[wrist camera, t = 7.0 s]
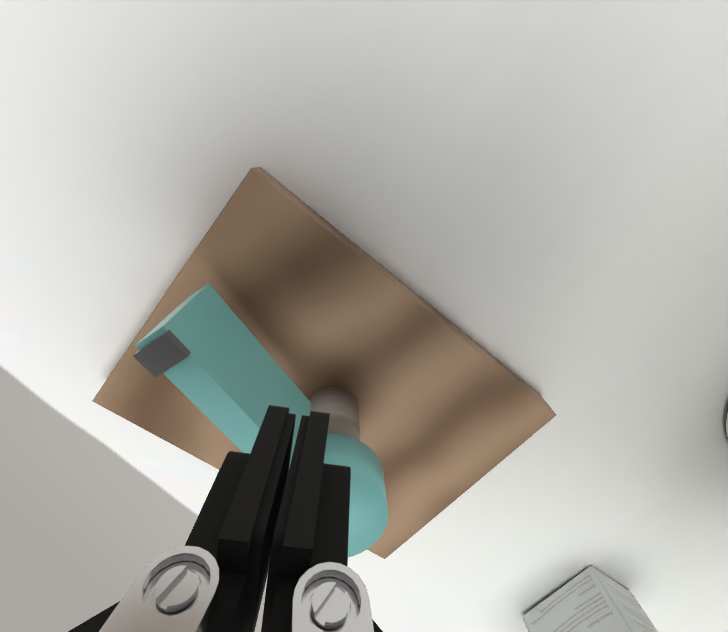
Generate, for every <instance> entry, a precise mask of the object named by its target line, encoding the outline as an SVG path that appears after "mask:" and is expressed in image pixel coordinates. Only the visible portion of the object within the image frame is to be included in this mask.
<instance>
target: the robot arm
mask: <svg viewBox="0 0 728 632" xmlns="http://www.w3.org/2000/svg"><path fill="white" fill-rule="evenodd" d="M329 417H330V413H323V412H316V411H311V412H310V416H305V415H302V417H301V421H300V425H299V430H298V434H297V438H296V442H295V447H294V451H293V455H292V459H291V463H290V458H291V450H292V442H293V435H294V427H295V419H296V414H291V413H289V408H288V407H280V406H273V405H269V406H268V409H267V411H266V414H265V416H264V419H263V422H262V424H261V427H260V430H259V432H258V435H257V438H256V440H255V443H254V445H253V448H252V451H251V453H242V452H234V451H229V452H228V453H227V455H226V457H225V459H224V461H223V464H222V466H221V468H220V470H219V472H218V474H217V477H216V479H215V481H214V483H213V485H212V488H211V490H210V492H209V494H208V496H207V498H206V501H205V503H204V505H203V507H202V509H201V511H200V514H199V516H198V518H197V520H196V523H195V525H194V527H193V529H192V531H191V533H190V535H189V538H188V540H187V542H186V544H185V546H183V547H177V548H173V549H171V550H168V551H166V552H164V553H162V554H160V555H159V556H157V557H156V558H154V559H153V560H152V561H150V562H149V564H148V565H147V566H146V567H145V568H144V569H143V570H142V571H141V573H140V574H139V576H138V577H137V578H136V580H135V581H134V583H133V584H132V585H131V587H130V588H129V590H128V591H127V592H126V594H125V595H124V597H123V598H122V599H121V601H119V602H118V603H116V604H114V605H113V606H111V607H109V608H108V609H106V610H104V611H102V612H101V613H99V614H97V615H96V616H94V617H92V618H91V619H89V620H87V621H86V622H84V623H82V624H80V625H79V626H77V627H75V628H74V629H72V630H70V631H69V632H254V631H255V627H256V622H257V618H258V613H259V609H260V605H261V600H262V595H263V592H264V587H265V583H266V578H267V574H268V579H267V588H266V595H265V604H264V613H263V622H262V629H261V632H383V631H382V630H381V629H380V628H379V627H378V625H377V624H376V623H375V622H374V621H373V619H372V614H371V608H370V601H369V596H368V593H367V589H366V586H365V584H364V583H363V581H362V580H361V578H360V577H359V575H358V574H357V573H355V572H354V571H353V570H352V569H351V568H349V567H347V561H348V534H349V508H350V481H351V467H348V466H340V465H333V464H325V463H324V456H325V449H326V441H327V433H328V425H329ZM726 430H727V437H728V414H727V419H726ZM289 466H290V468H289Z"/></svg>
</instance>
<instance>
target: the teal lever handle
mask: <svg viewBox="0 0 728 632" xmlns="http://www.w3.org/2000/svg"><path fill="white" fill-rule="evenodd" d="M135 346H136V347H137V348H138V349H139V351H137V352H136V353H135V354H134V355H133V357H134V358H135V359H136V360H137V361H138V362H139V363H140V364H141V365H142V366H143V367H144V368H146V369H147V370H148V371H149V372H150V373H151V374H152V375H153V376H154V377H155V378H156V377H158V376H159V375H161V374H162V373H163V374H164V375H165V376H166V377H167V378H168V379H169V380H170V381H171V382H172V383H173V384H174V385H175V386H176V387H177V388H178V389H179V390H180V391H181V392H182V393H183V394H184V395H185V396H186V397H187V398H188V399H189V400H190V401H191V402H192V403H193V404H194V405H195V406H196V407H197V408H198V409H199V410H200V411H201V412H202V413H203V414H204V415H206V416H207V417H208V418H209V419H210V420H211V421H212V422H213V423H214V424H215V425H216V426H217V427H218V428H219V429H220V430H221V431H222V432H223V433H224V434H225V435H226V436H227V437H228V438H229V439H230V440H231V441H232V442H233V443H234V444H235V445H236V446H237V447H238V448H239V449H240V450H241V451H242V452H243V453H251V451H252V448H253V445H254V443H255V440H256V438H257V435H258V432H259V430H260V427H261V424H262V422H263V419H264V416H265V414H266V411H267V409H268V406H269V405H273V406H280V407H288V408H289V413H291V414H296V419H295V427H294V435H293V442H292V450H291V458H290V463H291V459H292V455H293V451H294V447H295V442H296V438H297V434H298V430H299V425H300V421H301V417H302V415H305V416H309V415H310V408H311V402H310V401H309V400H308V399H307V398H306V396H305V395H304V394H303V393H302V392H301V391H300V389H299V388H298V387H297V386H296V385H295V384H294V382H293V381H292V380H291V379H290V378H289V376H288V375H287V374H286V373H285V372H284V371H283V369H282V368H281V367H280V366H279V365H278V364H277V362H276V361H275V360H274V359H273V358H272V357H271V355H270V354H269V353H268V352H267V351H266V350H265V348H264V347H263V346H262V345H261V344H260V343H259V341H258V340H257V339H256V338H255V337H254V335H253V334H252V333H251V332H250V331H249V330H248V328H247V327H246V326H245V325H244V324H243V323H242V321H241V320H240V319H239V318H238V317H237V316H236V314H235V313H234V312H233V311H232V310H231V309H230V307H229V306H228V305H227V304H226V303H225V302H224V300H223V299H222V298H221V297H220V296H219V295H218V293H217V292H216V291H215V290H214V289H213V287H212V286H211V285H210V284H209V283H208V284H207V285H205V286H204V287H203V288H201V289H200V290H198V291H197V292H195V293H194V294H192V295H191V296H189V297H188V298H187V299H186V300H185V301H183V302H182V303H181V304H180V305H179V306H178V307H177V308H176V309H175V310H173V311H172V312H171V313H170V314H169V315H168V316H167V317H166V318H165V319H163V320H162V321H161V322H160V323H159V324H158V325H157V326H156V327H155V328H154V329H152V330H151V331H150V332H149V333H148V334H147V335H146V336H145V337H144V338H142V339H141V340H140V341H139V342H138V343H137V344H136V345H135ZM324 463H325V464H333V465H340V466H348V467H351V481H350V508H349V534H348V557H351V556H354V555H356V554H359V553H361V552H363V551H365V550H366V549H368V548H369V547H371V546H372V545H373V544H374V543H376V542H377V541H378V539H379V538H380V537H381V536H382V534H383V532H384V531H385V528H386V526H387V522H388V508H387V499H386V491H385V482H384V473H383V467H382V464H381V461H380V459H379V458H378V456H377V455H376V453H375V452H374V451H373V450H372V449H371V448H370V447H368V446H367V445H366V444H364V443H363V442H361V441H359V440H357V439H355V438H352V437H349V436H344V435H339V434H327V441H326V449H325V456H324ZM289 468H290V466H289Z"/></svg>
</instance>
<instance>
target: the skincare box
mask: <svg viewBox="0 0 728 632" xmlns="http://www.w3.org/2000/svg"><path fill="white" fill-rule="evenodd" d="M523 619H524V622H525V624H526V627H527V629H528V632H658V631H657V630H656V628H655V627H654V625H653V624H652V622H651V621H650V619H649V618H648V616H647V615H646V613H645V612H644V610H643V609H642V607H641V606H640V604H639V603H638V601H637V600H636V598H635V597H634V595H633V594H632V593H631V592H630V591H628V590H627V589H626V588H624V587H623V586H621V585H620V584H618V583H617V582H615V581H614V580H612V579H611V578H609V577H608V576H606V575H605V574H603V573H602V572H600V571H599V570H597V569H596V568H594V567H593V566H589V567H588V568H587V569H585V570H584V571H583V572H581V573H580V574H579V575H577V576H576V577H575V578H573V579H572V580H571V581H569V582H568V583H567V584H565V585H564V586H563V587H561V588H560V589H559V590H557V591H556V592H555V593H553V594H552V595H551V596H549V597H548V598H547V599H545V600H544V601H542V602H541V603H540V604H538V605H537V606H536V607H534V608H533V609H531V610H530V611H529V612H528V613H526V614H525V615H523Z"/></svg>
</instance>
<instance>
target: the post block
mask: <svg viewBox="0 0 728 632" xmlns="http://www.w3.org/2000/svg"><path fill="white" fill-rule="evenodd" d="M208 283H209V284H210V285H211V286H212V287H213V289H214V290H215V291H216V292H217V293H218V295H219V296H220V297H221V298H222V299H223V300H224V302H225V303H226V304H227V305H228V306H229V307H230V309H231V310H232V311H233V312H234V313H235V314H236V316H237V317H238V318H239V319H240V320H241V321H242V323H243V324H244V325H245V326H246V327H247V328H248V330H249V331H250V332H251V333H252V334H253V335H254V337H255V338H256V339H257V340H258V341H259V343H260V344H261V345H262V346H263V347H264V348H265V350H266V351H267V352H268V353H269V354H270V355H271V357H272V358H273V359H274V360H275V361H276V362H277V364H278V365H279V366H280V367H281V368H282V369H283V371H284V372H285V373H286V374H287V375H288V376H289V378H290V379H291V380H292V381H293V382H294V384H295V385H296V386H297V387H298V388H299V389H300V391H301V392H302V393H303V394H304V395H305V396H306V398H307V399H308V400H309V401H310V402H311V408H310V412H311V411H316V412H323V413H330V417H329V425H328V433H327V434H339V435H344V436H349V437H352V438H355V439H357V440H359V441H361V442H363V443H364V444H366V445H367V446H368V447H370V448H371V449H372V450H373V451H374V452H375V453H376V455H377V456H378V458H379V459H380V461H381V464H382V467H383V473H384V482H385V491H386V499H387V508H388V522H387V526H386V528H385V531H384V532H383V534H382V536H381V537H380V538H379V539H378V541H377V542H376V543H374V544H373V545H372V546H371V547H369V548H368V549H367V550H369V551H371V552H373V553H375V554H377V555H378V556H380V557H382V558H384V559H385V558H387V557H388V556H389V555H390V554H391V553H393V552H394V551H395V550H396V549H397V548H399V547H400V546H401V545H402V544H403V543H405V542H406V541H407V540H408V539H409V538H410V537H412V536H413V535H414V534H415V533H416V532H418V531H419V530H420V529H421V528H422V527H424V526H425V525H426V524H427V523H428V522H430V521H431V520H432V519H433V518H434V517H435V516H437V515H438V514H439V513H440V512H441V511H443V510H444V509H445V508H446V507H447V506H449V505H450V504H451V503H452V502H453V501H455V500H456V499H457V498H458V497H459V496H460V495H462V494H463V493H464V492H465V491H466V490H468V489H469V488H470V487H471V486H472V485H474V484H475V483H476V482H477V481H478V480H480V479H481V478H482V477H483V476H484V475H486V474H487V473H488V472H489V471H490V470H491V469H493V468H494V467H495V466H496V465H497V464H499V463H500V462H501V461H502V460H503V459H505V458H506V457H507V456H508V455H509V454H511V453H512V452H513V451H514V450H515V449H516V448H518V447H519V446H520V445H521V444H522V443H524V442H525V441H526V440H527V439H528V438H530V437H531V436H532V435H533V434H534V433H536V432H537V431H538V430H539V429H540V428H541V427H543V426H544V425H545V424H546V423H547V422H549V421H550V420H551V419H552V418H553V417H555V416H556V414H555V413H554V411H553V410H552V409H551V408H550V406H549V405H548V404H547V403H546V401H545V400H544V399H543V398H542V396H540V395H539V394H538V393H537V392H536V391H534V390H533V389H532V388H531V387H529V386H528V385H527V384H526V383H525V382H523V381H522V380H521V379H520V378H518V377H517V376H516V375H515V374H513V373H512V372H511V371H510V370H509V369H507V368H506V367H505V366H504V365H502V364H501V363H500V362H499V361H497V360H496V359H495V358H494V357H493V356H491V355H490V354H489V353H488V352H486V351H485V350H484V349H483V348H482V347H480V346H479V345H478V344H477V343H475V342H474V341H473V340H472V339H470V338H469V337H468V336H467V335H466V334H464V333H463V332H462V331H461V330H459V329H458V328H457V327H456V326H455V325H453V324H452V323H451V322H450V321H448V320H447V319H446V318H445V317H443V316H442V315H441V314H440V313H439V312H437V311H436V310H435V309H434V308H432V307H431V306H430V305H429V304H427V303H426V302H425V301H424V300H423V299H421V298H420V297H419V296H418V295H416V294H415V293H414V292H413V291H412V290H410V289H409V288H408V287H407V286H405V285H404V284H403V283H402V282H400V281H399V280H398V279H397V278H396V277H394V276H393V275H392V274H391V273H389V272H388V271H387V270H386V269H384V268H383V267H382V266H381V265H380V264H378V263H377V262H376V261H375V260H373V259H372V258H371V257H370V256H369V255H367V254H366V253H365V252H364V251H362V250H361V249H360V248H359V247H357V246H356V245H355V244H354V243H353V242H351V241H350V240H349V239H348V238H346V237H345V236H344V235H343V234H342V233H340V232H339V231H338V230H337V229H335V228H334V227H333V226H332V225H330V224H329V223H328V222H327V221H326V220H324V219H323V218H322V217H321V216H319V215H318V214H317V213H316V212H314V211H313V210H312V209H311V208H310V207H308V206H307V205H306V204H305V203H303V202H302V201H301V200H300V199H299V198H297V197H296V196H295V195H294V194H292V193H291V192H290V191H289V190H287V189H286V188H285V187H284V186H283V185H281V184H280V183H279V182H278V181H276V180H275V179H274V178H273V177H272V176H270V175H269V174H268V173H267V172H265V171H264V170H263V169H262V168H260V167H258V168H251V169H250V171H249V172H248V174H247V175H246V177H245V178H244V180H243V181H242V183H241V184H240V185H239V187H238V188H237V190H236V191H235V193H234V194H233V196H232V197H231V199H230V200H229V202H228V203H227V204H226V206H225V207H224V209H223V210H222V212H221V213H220V215H219V216H218V218H217V219H216V221H215V222H214V224H213V225H212V226H211V228H210V229H209V231H208V232H207V234H206V235H205V237H204V238H203V240H202V241H201V243H200V244H199V245H198V247H197V248H196V250H195V251H194V253H193V254H192V256H191V257H190V259H189V260H188V262H187V263H186V265H185V266H184V267H183V269H182V270H181V272H180V273H179V275H178V276H177V278H176V279H175V281H174V282H173V284H172V285H171V286H170V288H169V289H168V291H167V292H166V294H165V295H164V297H163V298H162V300H161V301H160V303H159V304H158V306H157V307H156V308H155V310H154V311H153V313H152V314H151V316H150V317H149V319H148V320H147V322H146V323H145V325H144V326H143V327H142V329H141V330H140V332H139V333H138V335H137V336H136V338H135V339H134V341H133V342H132V344H131V345H130V347H129V348H128V349H127V351H126V352H125V354H124V355H123V357H122V358H121V360H120V361H119V363H118V364H117V366H116V367H115V368H114V370H113V371H112V373H111V374H110V376H109V377H108V379H107V380H106V382H105V383H104V385H103V386H102V388H101V389H100V390H99V392H98V393H97V395H96V396H95V398H94V399H93V402H95V403H97V404H99V405H101V406H102V407H104V408H106V409H108V410H110V411H112V412H114V413H115V414H117V415H119V416H121V417H123V418H125V419H126V420H128V421H130V422H132V423H134V424H136V425H138V426H139V427H141V428H143V429H145V430H147V431H149V432H151V433H152V434H154V435H156V436H158V437H160V438H162V439H164V440H165V441H167V442H169V443H171V444H173V445H175V446H176V447H178V448H180V449H182V450H184V451H186V452H188V453H189V454H191V455H193V456H195V457H197V458H199V459H201V460H202V461H204V462H206V463H208V464H210V465H212V466H214V467H215V468H217V469H219V470H220V468H221V466H222V464H223V461H224V459H225V457H226V455H227V453H228V452H229V451H234V452H242V451H241V450H240V449H239V448H238V447H237V446H236V445H235V444H234V443H233V442H232V441H231V440H230V439H229V438H228V437H227V436H226V435H225V434H224V433H223V432H222V431H221V430H220V429H219V428H218V427H217V426H216V425H215V424H214V423H213V422H212V421H211V420H210V419H209V418H208V417H207V416H206V415H204V414H203V413H202V412H201V411H200V410H199V409H198V408H197V407H196V406H195V405H194V404H193V403H192V402H191V401H190V400H189V399H188V398H187V397H186V396H185V395H184V394H183V393H182V392H181V391H180V390H179V389H178V388H177V387H176V386H175V385H174V384H173V383H172V382H171V381H170V380H169V379H168V378H167V377H166V376H165V375H164V374H163V373H162V374H161V375H159V376H158V377H156V378H155V377H154V376H153V375H152V374H151V373H150V372H149V371H148V370H147V369H146V368H144V367H143V366H142V365H141V364H140V363H139V362H138V361H137V360H136V359H135V358H134V357H133V355H134V354H135V353H136V352H137V351H139V349H138V348H137V347H136V346H135V345H136V344H137V343H138V342H139V341H140V340H141V339H142V338H144V337H145V336H146V335H147V334H148V333H149V332H150V331H151V330H152V329H154V328H155V327H156V326H157V325H158V324H159V323H160V322H161V321H162V320H163V319H165V318H166V317H167V316H168V315H169V314H170V313H171V312H172V311H173V310H175V309H176V308H177V307H178V306H179V305H180V304H181V303H182V302H183V301H185V300H186V299H187V298H188V297H189V296H191V295H192V294H194V293H195V292H197V291H198V290H200V289H201V288H203V287H204V286H205V285H207V284H208ZM309 416H310V415H309ZM242 453H243V452H242Z"/></svg>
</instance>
